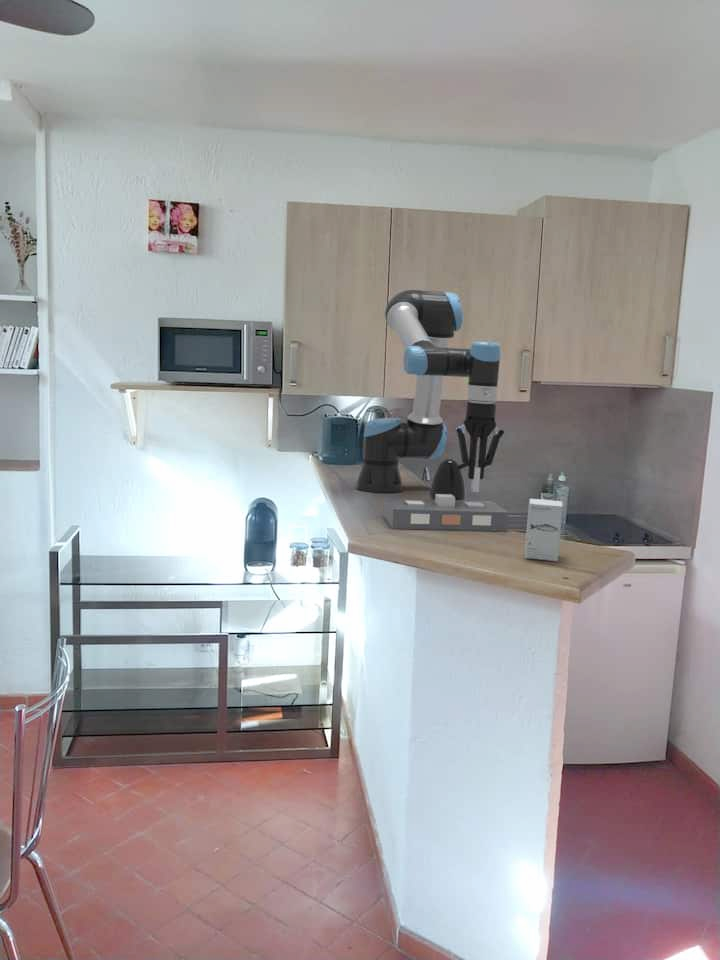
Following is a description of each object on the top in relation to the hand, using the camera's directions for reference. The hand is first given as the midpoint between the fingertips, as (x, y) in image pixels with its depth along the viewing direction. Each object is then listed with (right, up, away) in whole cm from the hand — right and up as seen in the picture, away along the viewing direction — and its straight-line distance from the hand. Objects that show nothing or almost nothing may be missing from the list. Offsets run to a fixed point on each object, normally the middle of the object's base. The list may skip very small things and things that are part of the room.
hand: (474, 491), depth 210 cm
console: (-8, -9, 0) cm, 12 cm away
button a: (-16, -7, -1) cm, 18 cm away
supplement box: (+10, -15, -32) cm, 36 cm away
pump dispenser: (-5, -6, +18) cm, 20 cm away
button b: (-8, -5, -1) cm, 10 cm away
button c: (0, -8, +1) cm, 8 cm away
